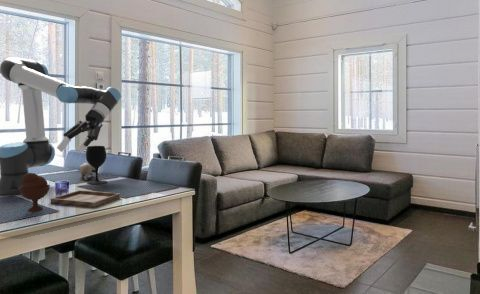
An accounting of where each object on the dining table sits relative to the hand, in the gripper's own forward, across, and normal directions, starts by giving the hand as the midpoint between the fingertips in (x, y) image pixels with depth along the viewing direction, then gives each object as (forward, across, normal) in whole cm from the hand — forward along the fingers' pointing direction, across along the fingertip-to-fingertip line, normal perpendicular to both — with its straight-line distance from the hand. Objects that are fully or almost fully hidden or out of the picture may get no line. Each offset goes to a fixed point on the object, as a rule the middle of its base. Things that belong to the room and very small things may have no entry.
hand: (69, 150), depth 159 cm
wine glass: (-9, +28, -41) cm, 50 cm away
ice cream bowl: (+27, +2, -6) cm, 27 cm away
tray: (+12, -3, -20) cm, 24 cm away
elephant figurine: (-14, +44, -46) cm, 65 cm away
